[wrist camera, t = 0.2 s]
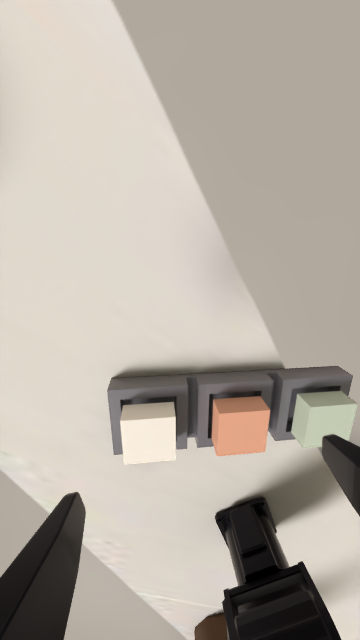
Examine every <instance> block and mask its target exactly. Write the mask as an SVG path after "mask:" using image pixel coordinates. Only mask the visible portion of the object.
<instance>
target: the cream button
mask: <svg viewBox="0 0 360 640" xmlns="http://www.w3.org/2000/svg"><path fill="white" fill-rule="evenodd" d="M120 426H121V437H122V448H123V459H124V465H126V464H137V463H148V462H159V461H170V460H176V416H175V409H174V402H164V403H149V404H134V405H123V409H122V414H121V419H120Z"/></svg>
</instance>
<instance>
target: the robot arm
mask: <svg viewBox="0 0 360 640" xmlns="http://www.w3.org/2000/svg"><path fill="white" fill-rule="evenodd" d="M322 455H323V458H324V460H325V462H326V463H327V465H328V467H329V468H330V470H331V472H332V473H333V475H334V477H335V478H336V480H337V482H338V483H339V485H340V487H341V488H342V490H343V492H344V493H345V495H346V496H347V498H348V500H349V501H350V503H351V504H352V506H353V507H354V509H355V510H356V512H357V513H358V515H359V516H360V447H359V446H357V445H355V444H353V443H351V442H349V441H347V440H345V439H343V438H341V437H339V436H338V435H335V434H330V435H325V436H323V438H322ZM85 515H86V512H85V507H84V504H83V502H82V499H81V497H80V494H79V493H78V492H74V493H70V494H67V495H65V496H64V497H63V498H62V500H61V501H60V502H59V504H58V505H57V506H56V507H55V509H54V510H53V511H52V512H51V514H50V515H49V516H48V518H47V519H46V520H45V521H44V523H43V524H42V525H41V526H40V528H39V529H38V530H37V532H36V533H35V534H34V536H33V537H32V538H31V539H30V541H29V542H28V543H27V544H26V546H25V547H24V548H23V549H22V551H21V552H20V553H19V555H18V556H17V557H16V558H15V560H14V561H13V562H12V563H11V565H10V566H9V567H8V569H7V570H6V571H5V573H4V574H3V575H2V576H1V577H0V640H64V635H65V630H66V626H67V621H68V616H69V612H70V607H71V602H72V598H73V593H74V589H75V584H76V579H77V574H78V568H79V561H80V553H81V546H82V539H83V531H84V523H85ZM215 519H216V523H217V525H218V527H219V529H220V531H221V533H222V535H223V538H224V540H225V542H226V544H227V546H228V548H229V551H230V555H231V559H232V563H233V566H234V570H235V574H236V578H237V582H238V586H237V587H234V588H232V589H229V588H228V589H225V590H224V597H225V599H224V601H223V602H222V604H223V609H224V614H225V620H226V626H227V636H228V640H341V638H340V635H339V633H338V631H337V629H336V627H335V624H334V622H333V620H332V618H331V616H330V614H329V612H328V610H327V608H326V606H325V604H324V602H323V600H322V598H321V596H320V594H319V592H318V590H317V588H316V586H315V584H314V582H313V581H312V579H311V577H310V575H309V573H308V571H307V569H306V567H305V565H304V563H303V561H301V562H299V563H298V564H297V565H294V566H292V567H289V565H288V562H287V560H286V557H285V555H284V553H283V550H282V548H281V546H280V543H279V541H278V539H277V536H276V532H277V530H276V528H275V525H274V522H273V519H272V516H271V513H270V511H269V508H268V505H267V502H266V500H265V498H263V497H261V498H258V499H256V500H253V501H250V502H248V503H245V504H243V505H240V506H237V507H235V508H232V509H229V510H227V511H224V512H221V513H219V514H217V515H216V516H215Z"/></svg>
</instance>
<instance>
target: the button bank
mask: <svg viewBox="0 0 360 640" xmlns="http://www.w3.org/2000/svg"><path fill="white" fill-rule="evenodd" d="M352 378H353V376H352V375H351V374H349V373H348V372H346V371H345V370H343V369H342V368H340V367H338V366H329V367H310V368H292V369H274V370H256V371H238V372H220V373H202V374H184V375H166V376H147V377H129V378H111V381H110V384H109V387H108V390H107V392H108V402H109V411H110V421H111V431H112V441H113V450H114V455H119V454H123V448H122V437H121V426H120V419H121V414H122V409H123V405H134V404H149V403H164V402H174V409H175V416H176V450H177V449H187V438H189V437H195V440H196V444H197V448H200V447H211V446H214V445H213V442H212V420H213V399H225V398H240V397H255V396H261V398H262V399H263V401H264V402H265V403H266V405H267V406H268V408H269V409H270V417H269V425H268V431H269V432H270V434H271V435H272V437H273V438H274V440H275V441H280V440H292V439H296V438H295V437H294V436H293V434H292V433H291V430H292V423H293V417H294V411H295V405H296V398H297V394H300V393H315V392H330V391H342V392H343V393H344V394H346V395H347V396H348V395H349V390H350V386H351V382H352Z"/></svg>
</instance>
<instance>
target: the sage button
mask: <svg viewBox="0 0 360 640" xmlns="http://www.w3.org/2000/svg"><path fill="white" fill-rule="evenodd" d="M357 405H358V404H357V403H356V402H355V401H354V400H352V399H351V398H350V397H348V396H347V395H346V394H344V393H343V392H342V391H330V392H315V393H300V394H297V398H296V405H295V411H294V417H293V423H292V430H291V433H292V434H293V436H294V437H295V438H296V440H297V441H298V442H299V444H300V445H301V446H302V448H313V447H322V438H323V436H325V435H330V434H335V435H338V436H339V437H341V438H343V439H345V440H347V441H349V437H350V433H351V429H352V425H353V421H354V417H355V413H356V409H357Z"/></svg>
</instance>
